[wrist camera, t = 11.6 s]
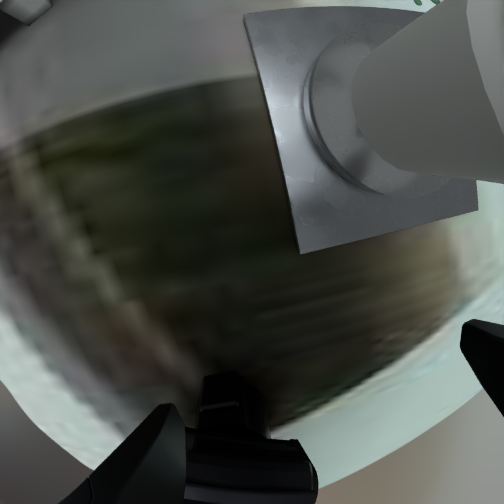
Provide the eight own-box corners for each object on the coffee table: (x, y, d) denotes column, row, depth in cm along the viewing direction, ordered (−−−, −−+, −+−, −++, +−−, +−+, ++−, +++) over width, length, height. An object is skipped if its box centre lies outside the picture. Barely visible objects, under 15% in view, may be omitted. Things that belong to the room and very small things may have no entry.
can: (443, 61, 14) (587, 17, 2) (455, 173, 16) (617, 204, 4) (337, 43, 14) (463, -80, 2) (350, 172, 16) (536, 199, 4)
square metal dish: (470, 208, 20) (499, 215, 17) (297, 250, 20) (309, 266, 17) (428, 18, 16) (452, 3, 13) (243, 20, 16) (244, -5, 13)
